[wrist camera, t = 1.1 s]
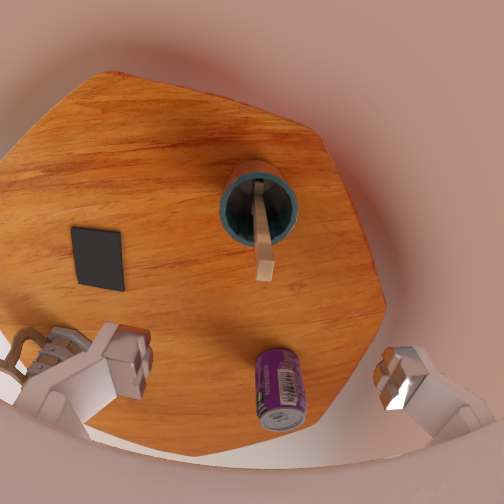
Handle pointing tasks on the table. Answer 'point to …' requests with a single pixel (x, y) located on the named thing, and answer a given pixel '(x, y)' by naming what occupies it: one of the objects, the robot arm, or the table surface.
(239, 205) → the cup
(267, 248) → the wooden stir stick
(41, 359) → the tankard
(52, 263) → the table surface
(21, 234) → the table surface
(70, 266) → the table surface
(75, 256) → the mat
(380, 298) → the table surface
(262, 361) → the beverage can
